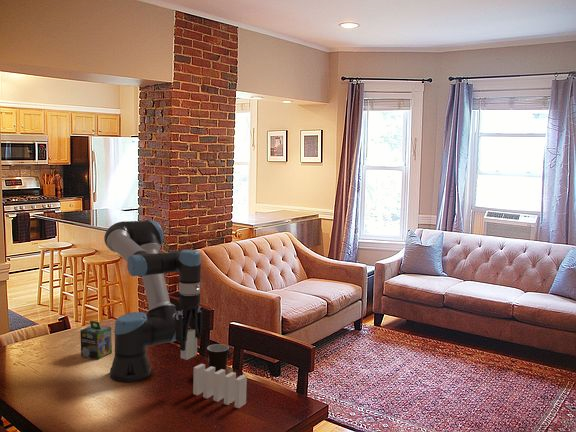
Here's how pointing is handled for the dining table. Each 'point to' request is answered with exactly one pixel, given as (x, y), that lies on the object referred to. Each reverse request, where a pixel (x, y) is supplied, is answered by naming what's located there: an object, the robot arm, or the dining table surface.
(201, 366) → the tile
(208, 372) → the tile
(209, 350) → the coffee mug
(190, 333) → the end tile
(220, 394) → the tile
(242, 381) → the grey rectangular block
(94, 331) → the chalk box
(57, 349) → the dining table surface
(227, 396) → the tile
